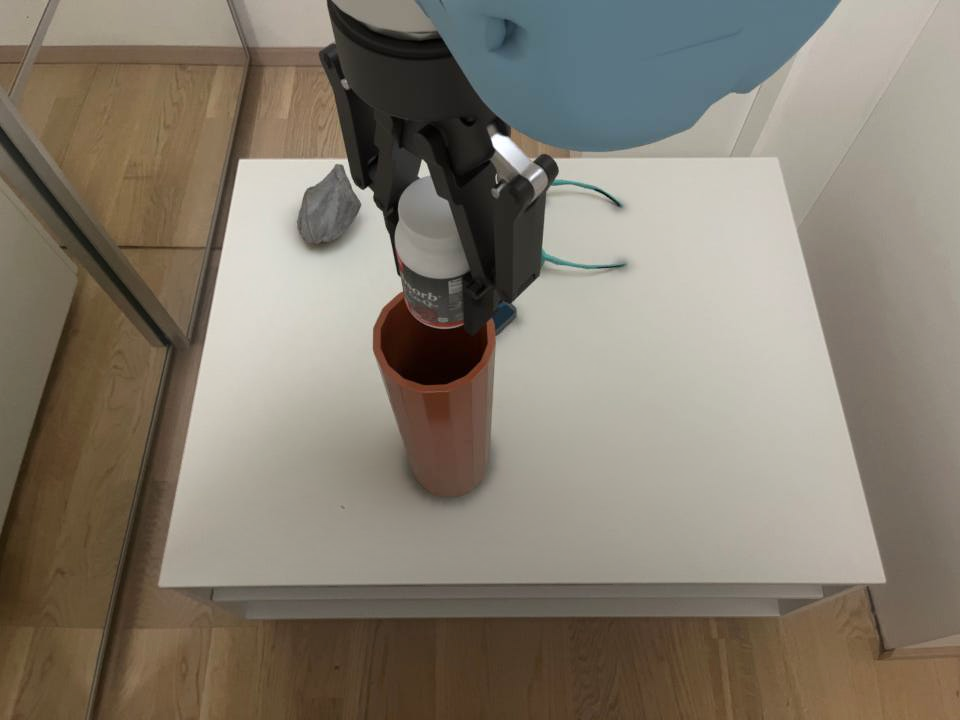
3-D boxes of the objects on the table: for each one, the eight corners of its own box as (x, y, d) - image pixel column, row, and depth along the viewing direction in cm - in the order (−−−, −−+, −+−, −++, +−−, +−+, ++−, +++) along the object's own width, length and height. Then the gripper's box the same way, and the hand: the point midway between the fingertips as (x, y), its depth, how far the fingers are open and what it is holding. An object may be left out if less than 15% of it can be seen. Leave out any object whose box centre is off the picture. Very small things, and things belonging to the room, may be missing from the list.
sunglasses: (517, 191, 96) (523, 167, 91) (619, 201, 97) (629, 178, 92) (516, 274, 90) (522, 253, 85) (624, 283, 91) (635, 263, 86)
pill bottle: (388, 292, 47) (367, 200, 38) (450, 248, 48) (444, 149, 39) (440, 347, 45) (431, 264, 36) (503, 300, 46) (510, 209, 37)
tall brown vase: (504, 456, 79) (520, 331, 50) (451, 513, 76) (435, 417, 47) (448, 407, 82) (432, 262, 53) (395, 461, 79) (347, 339, 50)
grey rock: (306, 190, 96) (292, 151, 89) (369, 191, 96) (360, 152, 89) (295, 255, 91) (280, 219, 84) (361, 256, 91) (351, 220, 84)
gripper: (681, 44, 24) (586, 338, 45) (330, -160, 29) (392, 188, 50) (546, 163, 21) (513, 415, 42) (191, -82, 27) (317, 249, 48)
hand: (447, 292), depth 46 cm, fingers closed on pill bottle, 6 cm apart
